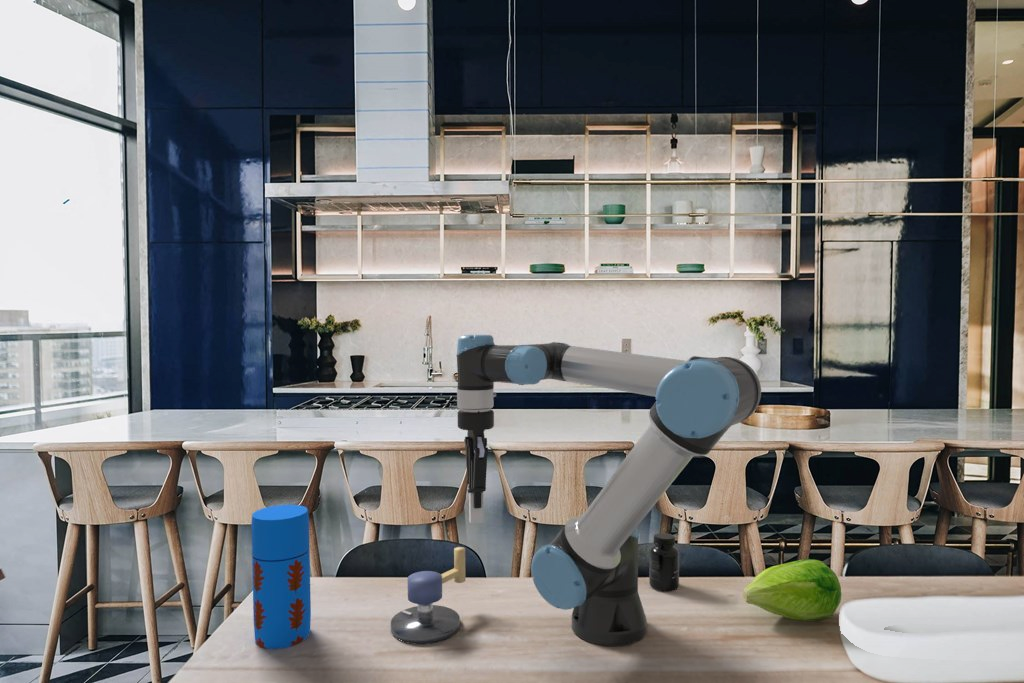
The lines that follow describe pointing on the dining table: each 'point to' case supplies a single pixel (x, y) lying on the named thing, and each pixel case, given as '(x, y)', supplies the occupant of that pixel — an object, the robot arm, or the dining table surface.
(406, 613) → the post base
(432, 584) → the blue crank handle
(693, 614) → the dining table surface
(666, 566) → the supplement bottle
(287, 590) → the thermos
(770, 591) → the lettuce
